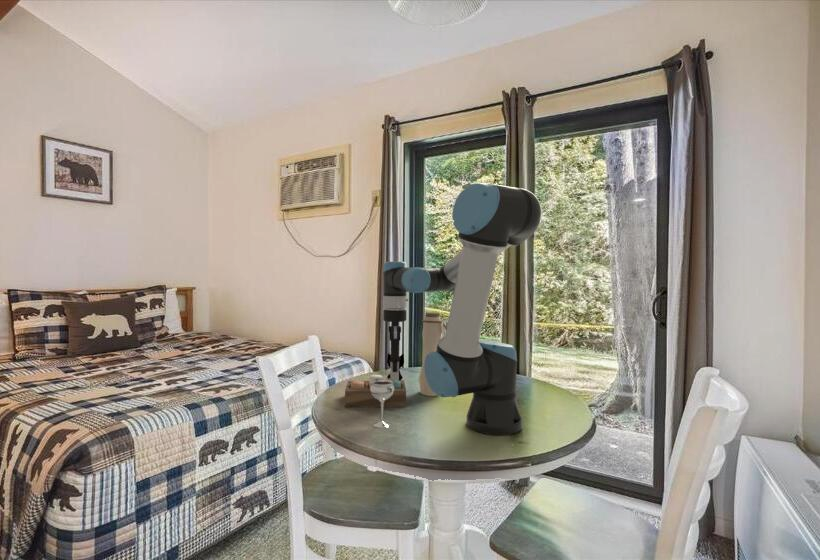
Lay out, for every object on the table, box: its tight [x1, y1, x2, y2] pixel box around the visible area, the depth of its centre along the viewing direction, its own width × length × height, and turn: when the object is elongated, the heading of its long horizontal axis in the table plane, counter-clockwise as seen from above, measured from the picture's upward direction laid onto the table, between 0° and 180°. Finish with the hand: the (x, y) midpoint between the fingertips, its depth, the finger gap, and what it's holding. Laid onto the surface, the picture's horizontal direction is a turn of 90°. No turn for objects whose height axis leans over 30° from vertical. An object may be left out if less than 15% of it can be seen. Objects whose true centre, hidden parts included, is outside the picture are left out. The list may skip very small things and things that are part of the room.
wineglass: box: [370, 377, 394, 429], centre depth 118 cm, size 7×7×12 cm
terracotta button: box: [351, 380, 364, 388], centre depth 138 cm, size 4×4×5 cm
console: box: [344, 379, 407, 408], centre depth 139 cm, size 12×19×5 cm, turn 94°
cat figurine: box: [386, 352, 405, 380], centre depth 157 cm, size 7×7×12 cm
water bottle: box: [418, 311, 447, 397], centre depth 148 cm, size 10×9×28 cm
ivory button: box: [368, 374, 384, 388], centre depth 139 cm, size 4×4×5 cm
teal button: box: [393, 381, 401, 388], centre depth 139 cm, size 4×4×5 cm
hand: (394, 380), depth 139 cm, fingers closed
